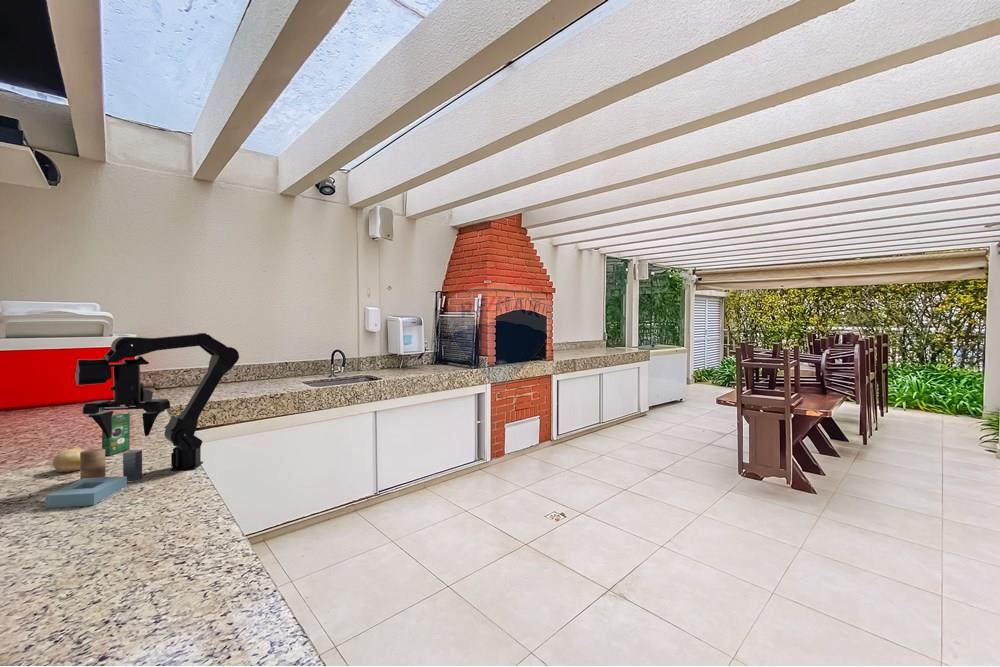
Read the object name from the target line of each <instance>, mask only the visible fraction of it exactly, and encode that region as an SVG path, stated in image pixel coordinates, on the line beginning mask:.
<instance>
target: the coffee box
mask: <svg viewBox="0 0 1000 667" xmlns="http://www.w3.org/2000/svg"><path fill="white" fill-rule="evenodd" d="M111 422H112V437H110V438H107V436H106V435H105V433H104V432H103V431H101V449H105V455H110V456H113V455H112V454H114V455H115V453H116V454H119V453H123V452H126V451H130V446H131V445H130V444H131V442H130V440H131V434H130V433H131V428H130V427H131V412H120V413H115V414H114V413H113V414H112V417H111ZM125 450H126V451H125Z"/></svg>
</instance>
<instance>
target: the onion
mask: <svg viewBox="0 0 1000 667" xmlns="http://www.w3.org/2000/svg"><path fill="white" fill-rule="evenodd" d="M67 447H68V449H66V450H65V449H64V450H62V451H60V452H58V454H56V455H55V456H54V458H53V460H52V466H53V468H54V469H55V470H56V471H57V472H59V473H60V472H62V473H63V472H67V473H71V472H70V471H73V472H77V471H76V470H78V471H80V453H81V452H83V451H85V449H82V448H79V446H77V445H72V446H70V445H68V446H67Z"/></svg>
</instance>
